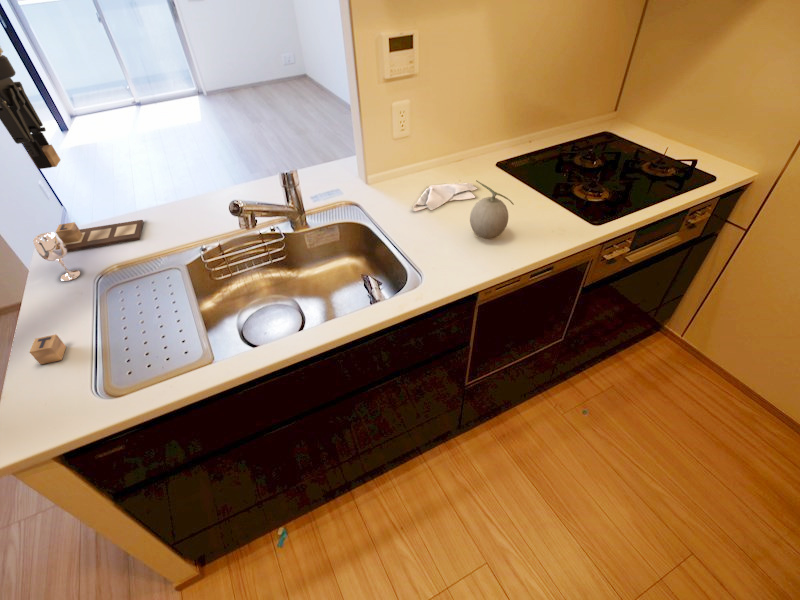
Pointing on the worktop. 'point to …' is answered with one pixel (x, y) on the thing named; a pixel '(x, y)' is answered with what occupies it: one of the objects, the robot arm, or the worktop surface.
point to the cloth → (443, 195)
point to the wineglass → (54, 252)
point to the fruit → (489, 216)
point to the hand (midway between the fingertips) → (48, 163)
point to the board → (107, 235)
